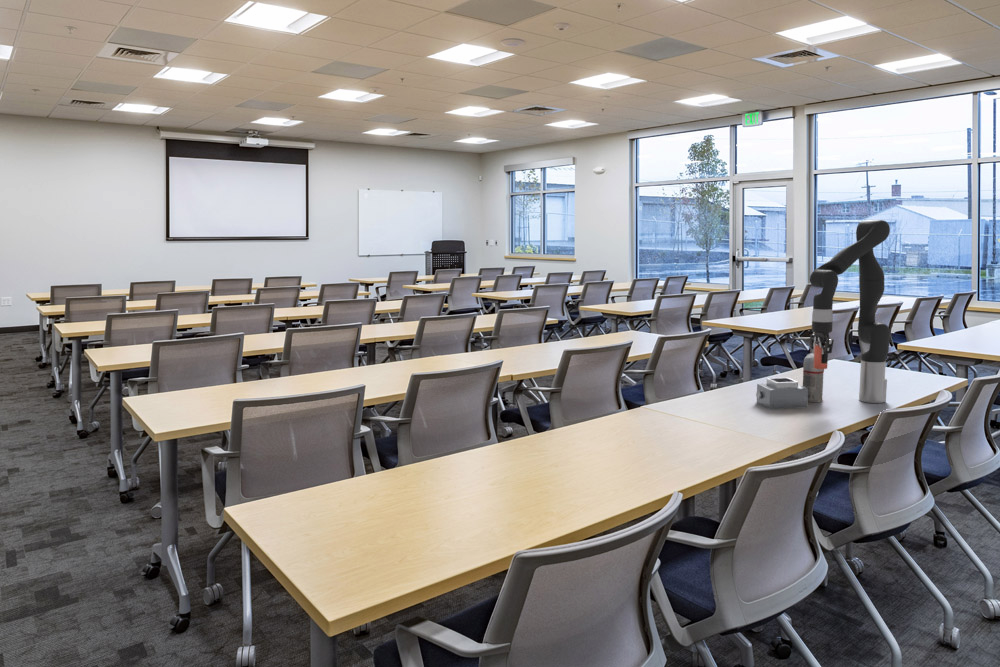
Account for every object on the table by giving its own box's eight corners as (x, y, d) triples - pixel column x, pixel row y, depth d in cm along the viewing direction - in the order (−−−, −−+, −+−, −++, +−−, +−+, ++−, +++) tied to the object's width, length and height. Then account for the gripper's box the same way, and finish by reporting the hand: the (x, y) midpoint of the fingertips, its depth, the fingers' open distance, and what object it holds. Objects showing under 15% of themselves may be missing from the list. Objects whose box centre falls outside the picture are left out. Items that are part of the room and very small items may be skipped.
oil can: (823, 366, 289) (824, 339, 287) (829, 368, 284) (830, 341, 282) (811, 366, 288) (811, 340, 287) (817, 369, 284) (818, 342, 282)
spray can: (826, 402, 298) (828, 355, 295) (806, 403, 298) (808, 356, 296) (817, 397, 307) (819, 352, 304) (798, 398, 307) (800, 352, 304)
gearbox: (793, 400, 303) (793, 376, 301) (807, 407, 291) (808, 382, 290) (753, 402, 302) (754, 378, 300) (766, 409, 290) (767, 384, 288)
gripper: (841, 322, 277) (839, 365, 279) (821, 317, 291) (820, 358, 293) (822, 322, 276) (821, 365, 279) (804, 318, 290) (802, 359, 293)
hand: (820, 361), depth 286 cm, fingers closed on oil can, 5 cm apart
